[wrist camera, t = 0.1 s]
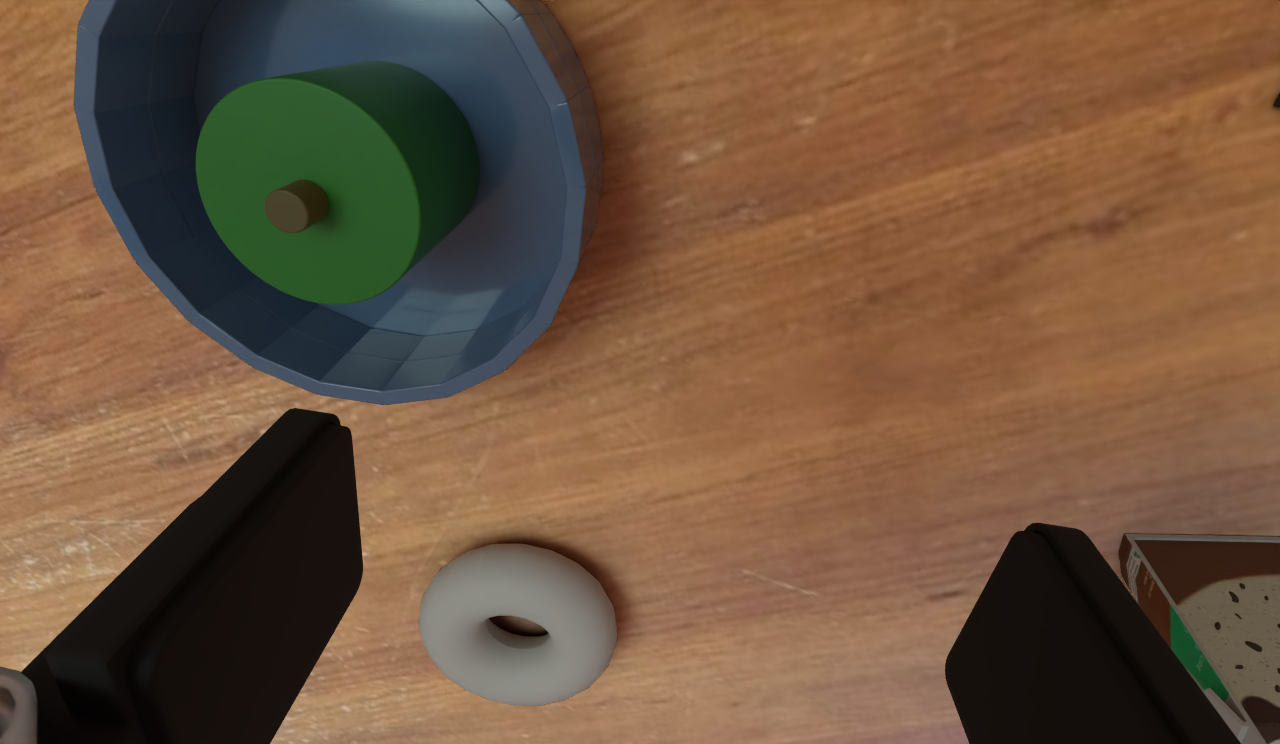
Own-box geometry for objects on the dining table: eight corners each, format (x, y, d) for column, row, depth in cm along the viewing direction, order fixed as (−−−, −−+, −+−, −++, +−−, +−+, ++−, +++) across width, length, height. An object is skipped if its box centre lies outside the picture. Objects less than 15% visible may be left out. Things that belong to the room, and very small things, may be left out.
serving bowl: (146, -132, 21) (2, -168, 17) (629, -55, 21) (612, -71, 17) (225, 311, 28) (139, 367, 24) (582, 367, 28) (562, 433, 24)
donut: (508, 682, 39) (656, 630, 36) (492, 739, 36) (652, 689, 33) (394, 568, 35) (548, 499, 32) (365, 622, 32) (531, 552, 29)
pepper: (294, 46, 23) (139, 62, 16) (482, 76, 23) (400, 103, 16) (312, 230, 26) (189, 303, 19) (478, 256, 26) (408, 337, 19)
